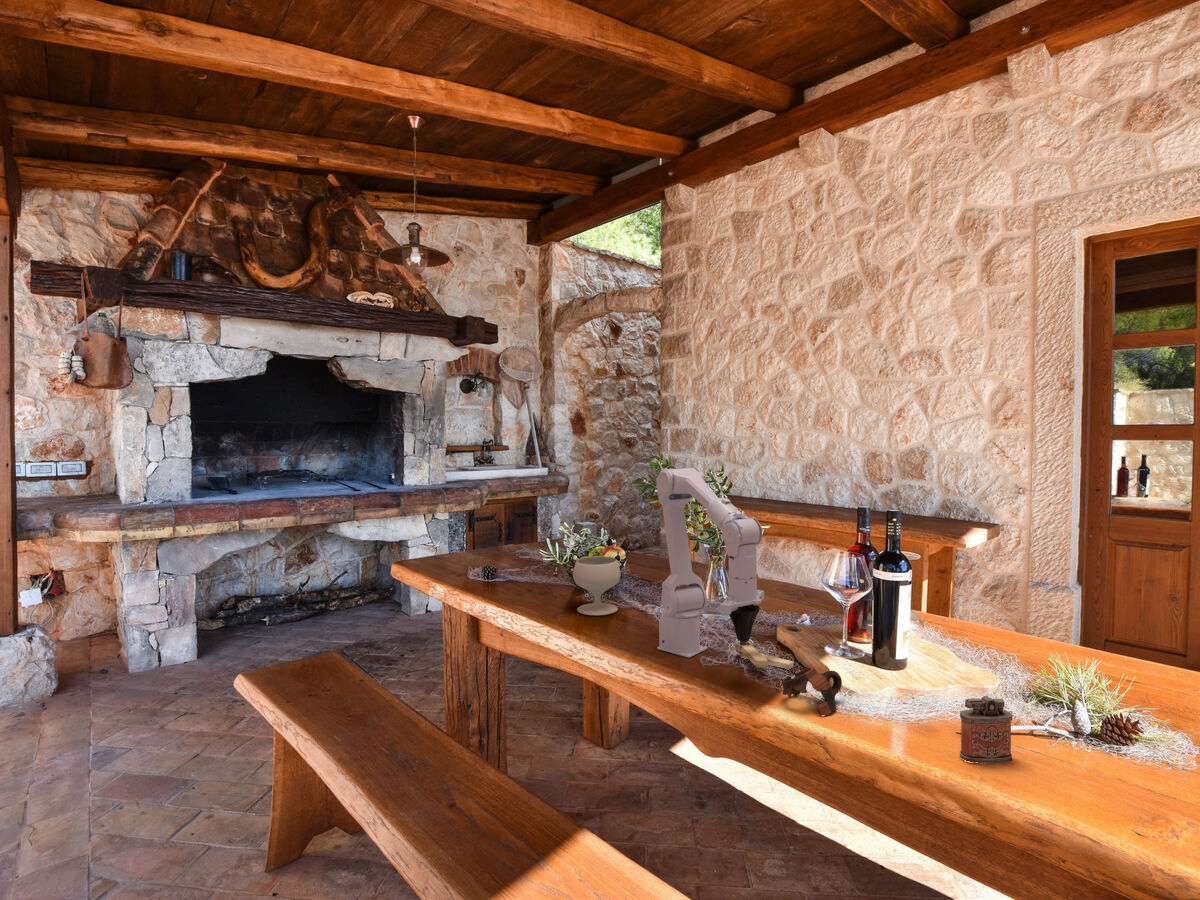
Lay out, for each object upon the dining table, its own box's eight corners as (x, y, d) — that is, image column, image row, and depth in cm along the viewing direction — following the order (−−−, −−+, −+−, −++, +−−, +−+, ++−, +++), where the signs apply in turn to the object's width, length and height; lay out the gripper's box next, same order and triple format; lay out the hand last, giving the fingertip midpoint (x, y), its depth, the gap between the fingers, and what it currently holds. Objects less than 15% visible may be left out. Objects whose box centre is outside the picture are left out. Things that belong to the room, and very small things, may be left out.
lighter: (1003, 752, 107) (1003, 692, 106) (1017, 763, 103) (1017, 701, 103) (955, 754, 106) (955, 694, 106) (967, 765, 103) (967, 703, 103)
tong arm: (734, 647, 152) (734, 641, 152) (749, 646, 152) (749, 640, 152) (754, 667, 140) (754, 661, 139) (770, 666, 140) (770, 660, 140)
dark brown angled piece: (814, 725, 119) (791, 681, 121) (788, 726, 127) (768, 686, 129) (862, 696, 123) (839, 655, 125) (834, 700, 131) (813, 661, 134)
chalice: (573, 618, 184) (572, 566, 183) (573, 604, 198) (572, 555, 197) (622, 616, 185) (621, 564, 184) (619, 603, 199) (618, 554, 198)
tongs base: (733, 657, 152) (733, 636, 151) (740, 653, 154) (740, 633, 154) (787, 671, 142) (787, 649, 142) (794, 667, 145) (794, 646, 145)
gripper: (741, 586, 127) (742, 654, 128) (776, 572, 138) (777, 635, 139) (711, 580, 132) (711, 646, 133) (747, 567, 143) (747, 628, 143)
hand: (743, 640), depth 136 cm, fingers closed
